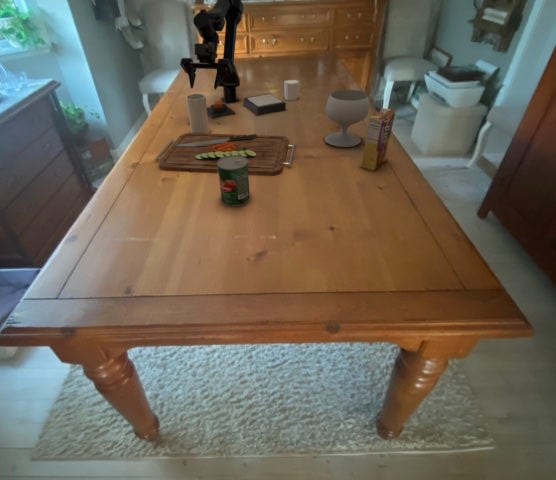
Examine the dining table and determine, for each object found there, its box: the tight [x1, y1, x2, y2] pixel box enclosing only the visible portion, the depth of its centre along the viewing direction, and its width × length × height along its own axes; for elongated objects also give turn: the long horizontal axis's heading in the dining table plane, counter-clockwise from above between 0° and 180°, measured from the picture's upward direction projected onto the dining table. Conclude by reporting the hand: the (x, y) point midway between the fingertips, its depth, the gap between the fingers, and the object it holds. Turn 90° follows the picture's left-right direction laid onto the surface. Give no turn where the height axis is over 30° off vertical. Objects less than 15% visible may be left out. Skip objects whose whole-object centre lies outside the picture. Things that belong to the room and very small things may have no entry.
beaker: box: [185, 93, 211, 134], centre depth 127 cm, size 7×7×13 cm
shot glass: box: [283, 79, 300, 101], centre depth 155 cm, size 7×7×7 cm
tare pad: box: [207, 103, 236, 119], centre depth 147 cm, size 12×10×2 cm
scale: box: [242, 92, 287, 117], centre depth 148 cm, size 15×13×3 cm
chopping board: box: [154, 132, 296, 176], centre depth 116 cm, size 45×27×3 cm, turn 80°
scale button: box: [213, 100, 224, 108], centre depth 146 cm, size 4×4×2 cm
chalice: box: [324, 89, 370, 148], centre depth 116 cm, size 14×14×15 cm
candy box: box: [361, 107, 396, 171], centre depth 103 cm, size 9×4×15 cm, turn 140°
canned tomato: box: [217, 155, 251, 208], centre depth 92 cm, size 8×8×11 cm
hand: (203, 88), depth 128 cm, fingers open, 9 cm apart
